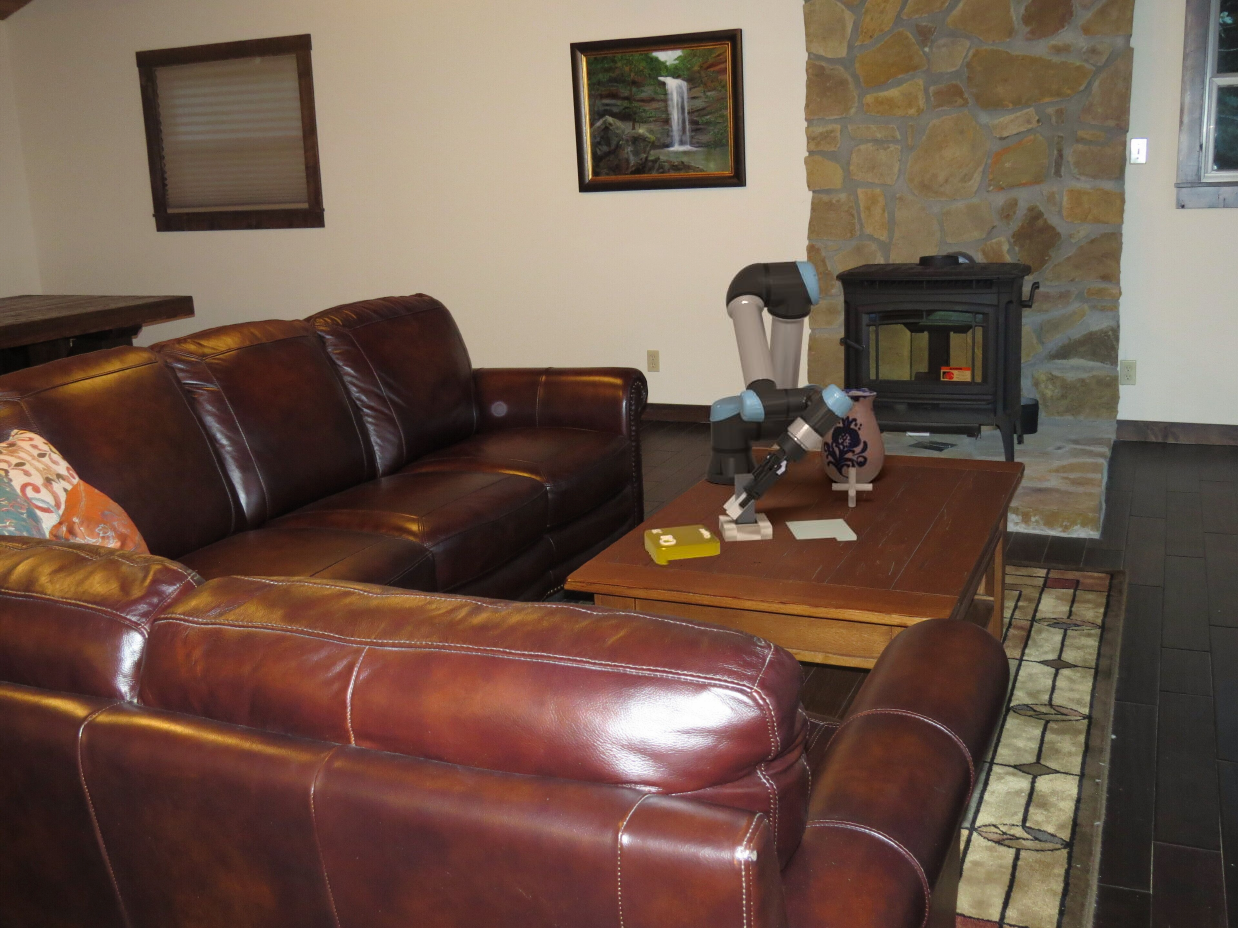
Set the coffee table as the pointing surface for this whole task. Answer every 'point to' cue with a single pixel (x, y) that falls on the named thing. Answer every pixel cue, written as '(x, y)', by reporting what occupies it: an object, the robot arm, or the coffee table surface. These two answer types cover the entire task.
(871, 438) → the ceramic pitcher
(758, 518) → the socket block
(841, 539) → the plate
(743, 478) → the peg
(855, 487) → the pipe connector
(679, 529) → the element tile
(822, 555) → the coffee table surface
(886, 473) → the coffee table surface
